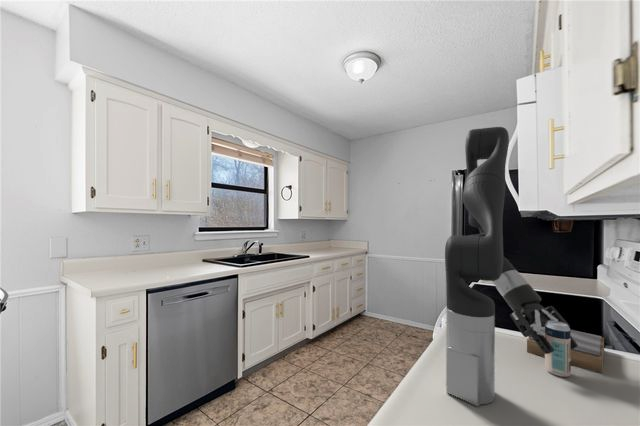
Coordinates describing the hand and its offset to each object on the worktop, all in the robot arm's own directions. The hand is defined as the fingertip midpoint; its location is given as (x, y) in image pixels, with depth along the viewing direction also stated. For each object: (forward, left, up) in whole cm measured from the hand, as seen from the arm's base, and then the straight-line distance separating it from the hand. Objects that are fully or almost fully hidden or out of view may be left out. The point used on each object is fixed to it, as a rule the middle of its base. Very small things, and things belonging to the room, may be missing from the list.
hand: (562, 350), depth 68 cm
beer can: (0, +1, -6) cm, 6 cm away
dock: (+17, +1, -6) cm, 18 cm away
